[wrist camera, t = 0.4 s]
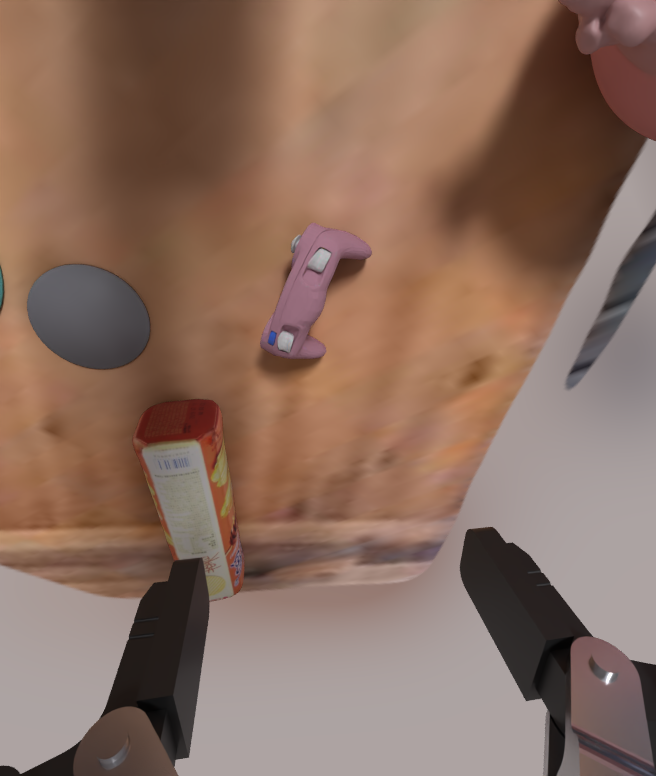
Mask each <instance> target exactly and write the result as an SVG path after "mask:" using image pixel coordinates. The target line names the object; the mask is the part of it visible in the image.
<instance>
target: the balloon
mask: <svg viewBox="0 0 656 776" xmlns="http://www.w3.org/2000/svg"><path fill="white" fill-rule="evenodd" d="M558 1H559V2H560V3H561V4H563V5H565V6H567V8H568V9H569V10H570V11H572V12H574V13H576V14H578V20H579V27H578V29H577V31H576V36H575V39H576V43H577V46H578V49H579V51H580V52H581V53H583V54H591V61H592V67H593V71H594V75H595V78H596V81H597V84H598V87H599V89H600V91H601V93H602V95H603V97H604V99H605V101H606V102H607V104H608V105H609V107H610V108H611V109H612V111H613V112H614V113H615V114H616V115H617V116H618V117H619V118H620V119H621V120H622V121H623V122H624V123H625V124H626V125H628V126H629V127H630V128H632V129H633V130H635V131H636V132H638V133H640V134H641V135H643V136H645V137H647V138H649V139H652V140H654V141H656V0H558Z"/></svg>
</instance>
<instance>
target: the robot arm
mask: <svg viewBox="0 0 656 776" xmlns="http://www.w3.org/2000/svg"><path fill="white" fill-rule="evenodd" d="M460 572H461V578H462V581H463V584H464V586H465V588H466V590H467V592H468V594H469V596H470V598H471V599H472V601H473V603H474V605H475V607H476V609H477V611H478V613H479V614H480V616H481V618H482V620H483V622H484V624H485V626H486V627H487V629H488V631H489V633H490V635H491V637H492V639H493V640H494V642H495V644H496V646H497V648H498V650H499V652H500V653H501V655H502V657H503V659H504V661H505V662H506V664H507V666H508V668H509V670H510V672H511V674H512V676H513V678H514V679H515V681H516V683H517V685H518V687H519V688H520V691H521V692H522V694H523V696H524V698H525V700H526V701H529V700H535V699H541V698H542V700H543V702H544V703H545V705H546V707H547V709H548V710H547V713H546V724H545V747H544V748H545V749H544V772H543V776H656V665H653V664H648V663H643V662H637V661H633V660H629V658H628V657H627V656H626V655H625V654H623V653H622V652H621V651H620V650H618V649H617V648H616V647H615V646H613V645H611V644H610V643H608V642H606V641H604V640H601V639H598V638H595V637H593V636H592V635H591V634H590V633H589V631H588V630H587V629H586V628H585V626H584V625H583V624H582V622H581V621H580V620H579V619H578V617H577V616H576V615H575V613H574V612H573V611H572V610H571V608H570V607H569V606H568V605H567V603H566V602H565V601H564V600H563V598H562V597H561V595H560V594H559V593H558V592H557V591H556V589H555V588H554V586H551V584H550V581H549V580H548V579H547V578H546V576H545V575H544V574H543V573H541V570H540V568H539V567H538V566H537V565H536V563H535V562H534V561H533V560H532V558H531V557H530V556H529V555H528V554H527V553H526V552H524V551H523V550H522V549H520V548H519V547H518V546H516V545H515V544H514V543H506V542H505V541H504V540H503V538H502V537H501V536H500V534H499V533H498V532H497V531H496V529H494V528H493V527H485V528H477V529H469V530H467V532H466V536H465V541H464V546H463V552H462V557H461V563H460ZM208 619H209V592H208V586H207V580H206V574H205V568H204V562H203V559H202V557H201V558H191V559H182V560H175V561H174V562H173V565H172V569H171V572H170V576H169V580H168V581H166V582H157V583H153V585H152V586H151V587H150V589H149V590H148V591H147V593H146V594H145V595H144V597H143V598H142V599H141V601H140V604H139V607H138V610H137V613H136V616H135V619H134V624H133V625H132V628H131V631H130V634H129V640H128V641H127V644H126V647H125V650H124V653H123V656H122V659H121V662H120V665H119V668H118V671H117V675H116V678H115V680H114V684H113V687H112V690H111V693H110V696H109V699H108V702H107V705H106V707H105V710H104V712H103V714H102V715H101V717H100V719H99V720H98V721H97V722H96V723H95V724H94V725H93V726H92V727H91V728H90V729H89V730H88V732H87V733H86V734H85V736H84V737H83V739H82V740H81V741H80V742H78V743H77V744H76V745H75V746H73V747H72V748H70V749H69V750H67V751H66V752H64V753H62V754H60V755H58V756H56V757H54V758H52V759H50V760H48V761H46V762H44V763H42V764H40V765H38V766H36V767H34V768H32V769H30V770H28V771H26V772H24V773H22V774H20V773H19V772H18V771H17V770H16V769H15V768H13V767H10V766H0V776H178V774H177V772H176V770H175V768H174V766H175V760H176V759H183V758H188V757H189V753H190V745H191V739H192V732H193V725H194V717H195V711H196V704H197V697H198V689H199V682H200V675H201V667H202V660H203V654H204V646H205V640H206V633H207V626H208Z"/></svg>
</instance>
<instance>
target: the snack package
mask: <svg viewBox="0 0 656 776" xmlns="http://www.w3.org/2000/svg"><path fill="white" fill-rule="evenodd" d="M132 442H133V446H134V449H135V452H136V454H137V456H138V458H139V460H140V463H141V466H142V468H143V471H144V474H145V477H146V481H147V483H148V486H149V489H150V492H151V495H152V498H153V501H154V504H155V506H156V509H157V512H158V515H159V518H160V522H161V524H162V527H163V530H164V533H165V535H166V540H167V543H168V546H169V548H170V550H171V553H172V556H173V559H174V561H175V560H182V559H191V558H201V557H202V559H203V562H204V568H205V574H206V580H207V586H208V592H209V602H210V601H216V600H220V599H225V598H228V597H232V596H233V595H235V594H236V593H238V592H239V591H240V589H241V588H242V584H243V579H244V553H243V550H242V546H241V542H240V537H239V530H238V524H237V519H236V514H235V505H234V497H233V490H232V484H231V478H230V473H229V467H228V462H227V456H226V451H225V444H224V437H223V420H222V414H221V410H220V408H219V406H218V405H217V404H216V403H215V402H214V401H212V400H203V399H193V400H183V401H172V402H165V403H161V404H157V405H154V406H152V407H150V408H149V409H147V410H146V411H145V412H144V413H143V414H142V416H141V417H140V419H139V422H138V425H137V427H136V431H135V433H134V435H133V439H132Z"/></svg>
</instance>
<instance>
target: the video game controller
mask: <svg viewBox="0 0 656 776" xmlns="http://www.w3.org/2000/svg"><path fill="white" fill-rule="evenodd" d="M291 252H292V253H294V256H293V260H292V270H291V272H290V274H289V276H288V279H287V281H286V283H285V286H284V288H283V291H282V293H281V296H280V298H279V301H278V304H277V307H276V309H275V312H274V313H273V315H272V316H271V318H270V319H269V321H268V323H267V325H266V327H265V329H264V331H263V334H262V337H261V342H260V345H261V348H263V349H265V350H266V351H268V352H270V353H271V354H273V355H275V356H280V357H283V358H289V359H314V358H320V357H322V356H323V355H324V354H325V353H326V347H325V345H324V344H322V343H321V342H320V341H318V340H317V339H315V338H313V337H311V336H309V335H308V332H309V330H310V327H311V326H312V325H313V324H314V322H315V321H316V320H317V319H318V317H319V316H320V314H321V312H322V310H323V308H324V304H325V300H326V293H327V288H328V286H329V284H330V281H331V279H332V277H333V275H334V273H335V270H336V267H337V265H338V262H339V260H340V259H342V258H350V259H358V260H363V259H366V258H369V257H370V256H371V254H372V251H371V248H370V247H369V245H368V244H367V243H366V242H364V241H363V240H361V239H360V238H359V237H357V236H355V235H353V234H350V233H348V232H346V231H341V230H336V229H331V228H325V227H322V226H320V225H318V224H316V223H311V224H310V225H309V226H308V227H307V229H306V230H305V232H304V233H303V235H302V236H301V235H298V236H297V237H295V238H294V240H293V241H292V244H291Z"/></svg>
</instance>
